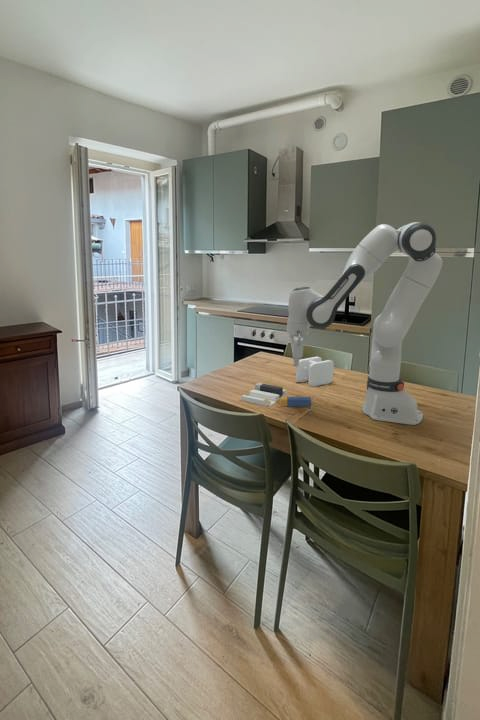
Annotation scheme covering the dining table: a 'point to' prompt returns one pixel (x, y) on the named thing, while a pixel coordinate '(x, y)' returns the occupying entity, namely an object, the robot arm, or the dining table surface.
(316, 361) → the cable organizer
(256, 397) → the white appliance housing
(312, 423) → the dining table surface
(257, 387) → the dark grey square rod
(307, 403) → the blue bar yellow end
